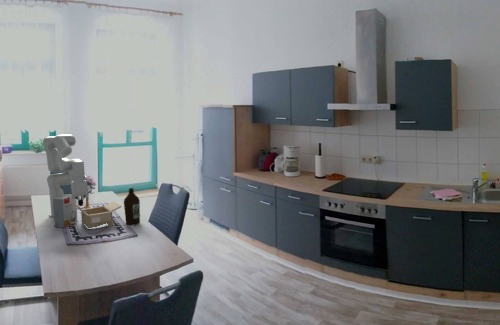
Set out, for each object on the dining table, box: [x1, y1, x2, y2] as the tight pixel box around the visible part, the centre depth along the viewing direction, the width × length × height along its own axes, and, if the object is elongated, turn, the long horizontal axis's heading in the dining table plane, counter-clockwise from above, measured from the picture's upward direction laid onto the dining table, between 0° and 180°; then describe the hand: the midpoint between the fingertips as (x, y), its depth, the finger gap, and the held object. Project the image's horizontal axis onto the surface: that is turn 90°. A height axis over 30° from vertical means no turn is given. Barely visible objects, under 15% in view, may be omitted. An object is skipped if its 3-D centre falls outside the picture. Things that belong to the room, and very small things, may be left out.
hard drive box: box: [53, 193, 78, 228], centre depth 280 cm, size 16×8×20 cm, turn 168°
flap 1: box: [73, 203, 87, 216], centre depth 272 cm, size 17×7×1 cm
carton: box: [80, 205, 114, 228], centre depth 279 cm, size 19×16×10 cm
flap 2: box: [104, 201, 122, 213], centre depth 285 cm, size 17×7×1 cm, turn 36°
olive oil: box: [123, 187, 141, 226], centre depth 280 cm, size 11×11×25 cm
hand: (80, 205), depth 272 cm, fingers closed
